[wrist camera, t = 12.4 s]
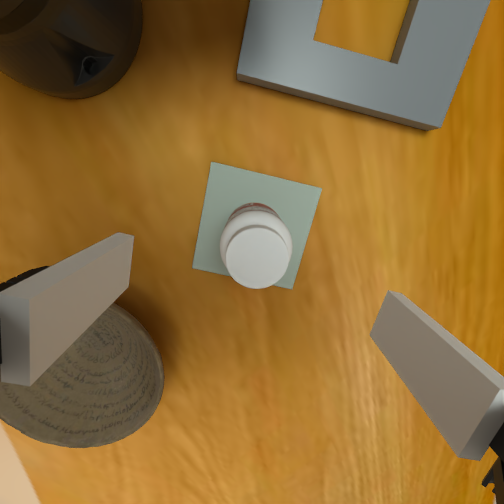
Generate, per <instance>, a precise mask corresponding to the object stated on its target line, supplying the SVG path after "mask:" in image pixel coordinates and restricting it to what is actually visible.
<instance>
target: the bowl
mask: <svg viewBox="0 0 504 504" xmlns="http://www.w3.org/2000/svg"><path fill="white" fill-rule="evenodd" d="M163 386H164V370H163V363H162V358H161V354H160V352H159V350H158V348H157V347H156V345H155V343H154V341H153V339H152V338H151V336H150V335H149V333H148V332H147V330H146V329H145V328H144V327H143V326H142V324H141V323H140V322H139V321H138V320H137V319H136V318H135V317H134V316H132V315H131V314H130V313H129V312H127V311H126V310H125V309H123V308H121V307H120V306H118V305H117V304H115V303H112V304H111V305H110V306H109V307H108V308H107V309H106V310H105V311H104V312H103V313H102V314H101V315H100V316H99V317H98V318H97V319H96V320H95V321H94V322H93V323H92V324H91V325H90V326H89V327H88V328H87V329H86V330H85V331H84V332H83V333H82V334H81V335H80V336H79V337H78V338H77V339H76V340H75V342H74V343H73V344H72V345H71V346H70V347H69V348H68V349H67V350H66V351H65V352H64V353H63V354H62V355H61V356H60V357H59V358H58V359H57V360H56V361H55V362H54V363H53V364H52V365H51V366H50V367H49V368H48V369H47V370H46V371H45V372H44V373H43V374H42V375H41V376H40V377H39V378H38V379H37V380H36V381H35V382H34V383H33V384H32V385H31V386H24V385H18V384H12V383H6V382H1V365H0V419H2V420H3V421H4V422H5V423H7V424H8V425H10V426H12V427H14V428H15V429H17V430H19V431H21V433H23V434H25V435H26V436H28V437H30V438H33V439H35V440H38V441H40V442H43V443H48V444H54V445H57V446H62V447H69V448H87V447H98V446H102V445H106V444H110V443H113V442H116V441H118V440H121V439H123V438H125V437H127V436H129V435H131V434H133V433H134V432H135V431H137V430H138V429H139V428H140V427H142V426H143V425H144V424H145V423H146V422H147V421H148V420H149V419H150V417H151V416H152V415H153V413H154V412H155V410H156V408H157V406H158V404H159V402H160V399H161V396H162V392H163Z"/></svg>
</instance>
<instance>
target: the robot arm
mask: <svg viewBox="0 0 504 504" xmlns="http://www.w3.org/2000/svg"><path fill="white" fill-rule="evenodd" d="M141 31H142V3H141V0H0V70H1V71H2V72H3V73H5V74H6V75H8V76H9V77H11V78H12V79H14V80H16V81H17V82H19V83H21V84H23V85H25V86H28V87H30V88H32V89H35V90H38V91H40V92H43V93H45V94H48V95H51V96H55V97H59V98H66V99H80V98H87V97H91V96H94V95H97V94H99V93H102V92H104V91H105V90H107V89H109V88H110V87H111V86H113V85H114V84H115V83H116V82H117V81H119V80H120V78H121V77H122V76H123V75H124V74H125V73H126V71H127V70H128V68H129V67H130V65H131V63H132V61H133V59H134V57H135V55H136V52H137V49H138V46H139V42H140V37H141ZM133 242H134V236H133V235H129V234H124V233H119V232H118V233H116V234H114V235H112V236H110V237H108V238H106V239H104V240H102V241H100V242H98V243H96V244H94V245H92V246H90V247H88V248H86V249H84V250H82V251H80V252H78V253H76V254H74V255H72V256H70V257H68V258H66V259H64V260H62V261H60V262H58V263H56V264H54V265H52V266H50V267H49V266H44V267H40V268H36V269H31V270H29V271H26V272H24V273H22V274H20V275H18V276H17V277H14V278H12V279H10V280H7V282H6V283H5V282H3V283H1V284H0V365H1V382H6V383H12V384H18V385H24V386H31V385H32V384H33V383H34V382H35V381H36V380H37V379H38V378H39V377H40V376H41V375H42V374H43V373H44V372H45V371H46V370H47V369H48V368H49V367H50V366H51V365H52V364H53V363H54V362H55V361H56V360H57V359H58V358H59V357H60V356H61V355H62V354H63V353H64V352H65V351H66V350H67V349H68V348H69V347H70V346H71V345H72V344H73V343H74V342H75V340H76V339H77V338H78V337H79V336H80V335H81V334H82V333H83V332H84V331H85V330H86V329H87V328H88V327H89V326H90V325H91V324H92V323H93V322H94V321H95V320H96V319H97V318H98V317H99V316H100V315H101V314H102V313H103V312H104V311H105V310H106V309H107V308H108V307H109V306H110V305H111V304H112V303H113V302H114V301H115V300H116V299H117V298H118V297H119V296H120V295H121V294H122V293H123V292H124V291H125V290H126V289H127V288H128V287H129V279H130V270H131V261H132V251H133ZM370 336H371V338H372V339H373V340H374V342H375V343H376V345H377V346H378V347H379V349H380V350H381V352H382V353H383V354H384V356H385V357H386V358H387V360H388V361H389V363H390V364H391V365H392V367H393V368H394V369H395V371H396V372H397V374H398V375H399V376H400V378H401V379H402V380H403V382H404V383H405V385H406V386H407V387H408V389H409V390H410V392H411V393H412V394H413V396H414V397H415V398H416V400H417V401H418V403H419V404H420V405H421V407H422V408H423V409H424V411H425V412H426V414H427V415H428V416H429V418H430V419H431V420H432V422H433V423H434V425H435V426H436V427H437V429H438V430H439V432H440V433H441V434H442V436H443V437H444V438H445V440H446V441H447V443H448V444H449V445H450V447H451V448H452V449H453V451H454V452H455V454H456V455H457V456H458V457H460V458H466V459H472V460H478V461H480V460H481V458H482V457H483V455H484V454H485V452H486V451H487V449H488V448H489V446H490V447H491V448H492V449H493V451H494V452H495V453H496V454H497V455H498V456H499V457H498V458H497V460H496V461H495V463H494V464H493V466H492V467H491V469H490V470H489V472H488V473H487V475H486V476H485V477H484V479H483V481H482V485H483V486H485V487H486V486H487V485H488V483H494V484H495V487H494V489H493V490H492V492H493V493H495V494H496V503H497V504H504V377H503V376H502V375H500V374H499V373H498V372H497V371H496V370H494V369H493V368H492V367H491V366H489V365H488V364H487V363H486V362H485V361H483V360H482V359H481V358H480V357H479V356H477V355H476V354H475V353H474V352H472V351H471V350H470V349H469V348H468V347H466V346H465V345H464V344H463V343H461V342H460V341H459V340H458V339H457V338H455V337H454V336H453V335H452V334H451V333H449V332H448V331H447V330H446V329H444V328H443V327H442V326H441V325H440V324H438V323H437V322H436V321H435V320H433V319H432V318H431V317H430V316H429V315H427V314H426V313H425V312H424V311H423V310H421V309H420V308H419V307H418V306H416V305H415V304H414V303H413V302H412V301H410V300H409V299H408V298H407V297H405V296H404V295H403V294H402V293H398V292H393V291H389V290H388V292H387V294H386V296H385V299H384V301H383V304H382V306H381V308H380V311H379V313H378V316H377V318H376V320H375V323H374V325H373V328H372V330H371V332H370Z"/></svg>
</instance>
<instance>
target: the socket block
mask: <svg viewBox="0 0 504 504" xmlns="http://www.w3.org/2000/svg"><path fill="white" fill-rule="evenodd" d="M322 2H323V0H250V5H249V11H248V16H247V21H246V26H245V31H244V37H243V42H242V47H241V52H240V58H239V63H238V68H237V80H239V81H243V82H247V83H251V84H254V85H258V86H262V87H265V88H269V89H273V90H277V91H280V92H284V93H288V94H292V95H295V96H299V97H303V98H307V99H310V100H314V101H318V102H322V103H325V104H329V105H333V106H336V107H340V108H344V109H348V110H351V111H355V112H359V113H363V114H366V115H370V116H374V117H378V118H381V119H385V120H389V121H392V122H396V123H400V124H404V125H407V126H411V127H415V128H419V129H422V130H426V131H429V130H434V129H438V128H441V126H442V123H443V121H444V118H445V115H446V113H447V110H448V108H449V105H450V103H451V100H452V98H453V95H454V92H455V90H456V87H457V85H458V82H459V80H460V77H461V74H462V72H463V69H464V67H465V64H466V62H467V59H468V57H469V54H470V51H471V49H472V46H473V44H474V41H475V39H476V36H477V33H478V31H479V28H480V26H481V23H482V21H483V18H484V16H485V13H486V10H487V8H488V5H489V3H490V0H410V2H409V5H408V9H407V12H406V15H405V18H404V21H403V24H402V27H401V30H400V33H399V36H398V39H397V43H396V46H395V49H394V52H393V55H392V58H391V61H390V62H387V61H384V60H380V59H377V58H373V57H370V56H366V55H363V54H359V53H356V52H352V51H349V50H345V49H342V48H338V47H335V46H331V45H328V44H324V43H321V42H317V41H314V40H313V38H314V34H315V30H316V26H317V22H318V18H319V14H320V10H321V6H322Z"/></svg>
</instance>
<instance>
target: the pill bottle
mask: <svg viewBox="0 0 504 504" xmlns="http://www.w3.org/2000/svg"><path fill="white" fill-rule="evenodd" d="M292 248H293V244H292V238H291V235H290V232H289V230H288V228H287V227H286V225H285V224H284V222H283V221H282V220H281V218H280V217H279V216H278V214H277V213H276V212H275V211H274V210H273V209H272V208H270V207H269V206H267V205H265V204H262V203H247V204H244V205H241V206H240V207H238V208H237V209H236V210H234V211H233V213H232V214H231V215H230V217H229V219H228V221H227V223H226V226H225V228H224V230H223V232H222V235H221V239H220V254H221V258H222V261H223V263H224V265H225V266H226V268H227V270H228V272H229V274H230V275H231V277H232V278H233V279H234V280H235V281H236V282H238V283H239V284H241V285H243V286H245V287H248V288H253V289H261V288H266V287H269V286H271V285H273V284H275V283H276V282H277V281H279V280H280V279H281V278H282V276H283V275H284V274H285V272H286V270H287V267H288V264H289V261H290V259H291V255H292Z"/></svg>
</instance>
